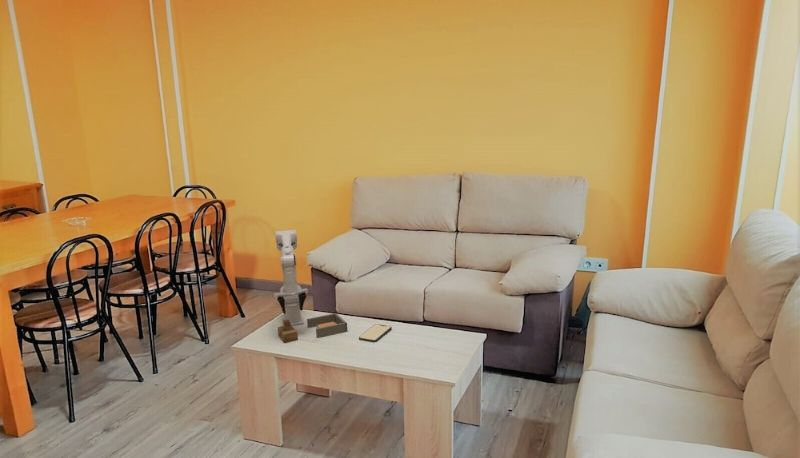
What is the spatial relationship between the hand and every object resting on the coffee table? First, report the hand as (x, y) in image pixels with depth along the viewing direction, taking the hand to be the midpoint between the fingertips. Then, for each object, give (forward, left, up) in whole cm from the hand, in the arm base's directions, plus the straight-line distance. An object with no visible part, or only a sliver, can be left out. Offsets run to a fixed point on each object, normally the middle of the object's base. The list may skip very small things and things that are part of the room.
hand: (292, 311), depth 259 cm
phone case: (+19, +31, -11) cm, 38 cm away
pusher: (+3, -4, -11) cm, 12 cm away
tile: (+3, +15, -11) cm, 19 cm away
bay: (+3, +14, -10) cm, 18 cm away
